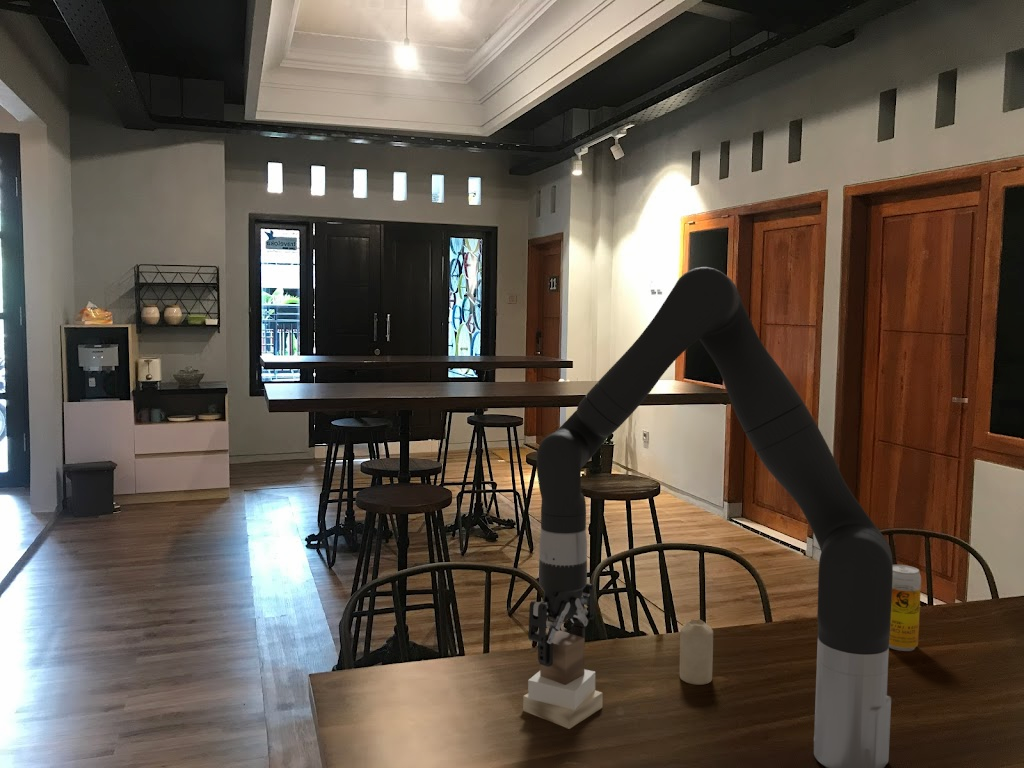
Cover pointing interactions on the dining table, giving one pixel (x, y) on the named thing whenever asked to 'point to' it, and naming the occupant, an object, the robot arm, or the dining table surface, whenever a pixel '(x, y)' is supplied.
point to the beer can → (905, 608)
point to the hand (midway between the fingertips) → (562, 656)
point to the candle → (696, 652)
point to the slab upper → (561, 690)
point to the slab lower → (564, 710)
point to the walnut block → (565, 658)
